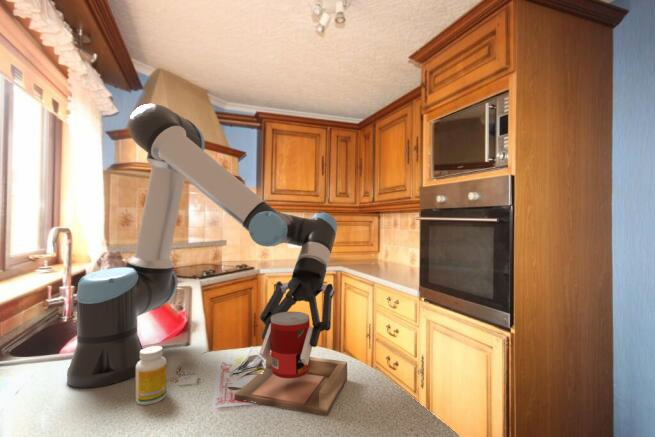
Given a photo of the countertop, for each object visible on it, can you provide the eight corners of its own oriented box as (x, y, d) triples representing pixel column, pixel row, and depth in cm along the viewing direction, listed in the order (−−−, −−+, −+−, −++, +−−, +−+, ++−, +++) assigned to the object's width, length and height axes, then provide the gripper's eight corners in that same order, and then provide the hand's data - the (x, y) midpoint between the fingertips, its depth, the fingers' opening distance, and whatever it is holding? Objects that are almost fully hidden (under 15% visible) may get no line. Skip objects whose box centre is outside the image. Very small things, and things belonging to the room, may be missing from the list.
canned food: (304, 380, 62) (303, 322, 63) (265, 377, 64) (264, 320, 64) (314, 363, 70) (313, 312, 70) (278, 361, 71) (278, 310, 72)
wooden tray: (234, 399, 64) (234, 378, 64) (269, 368, 77) (269, 351, 77) (327, 416, 58) (326, 393, 58) (347, 380, 71) (347, 361, 71)
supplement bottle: (130, 400, 64) (130, 350, 64) (157, 388, 68) (157, 342, 69) (144, 409, 61) (143, 357, 61) (171, 396, 65) (171, 347, 65)
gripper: (356, 276, 79) (338, 373, 63) (277, 273, 85) (244, 361, 69) (350, 256, 74) (329, 356, 58) (267, 255, 80) (229, 344, 65)
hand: (283, 359), depth 64 cm, fingers closed on canned food, 8 cm apart
